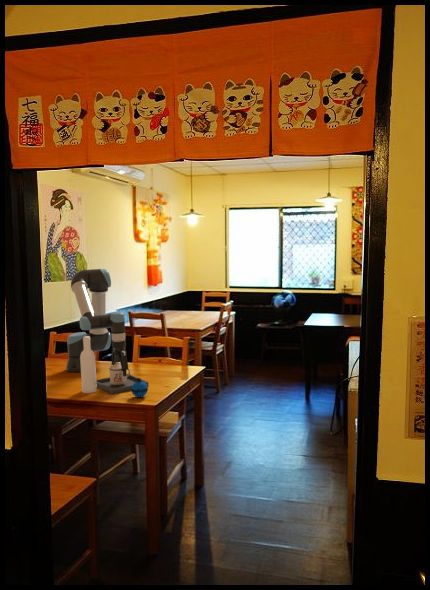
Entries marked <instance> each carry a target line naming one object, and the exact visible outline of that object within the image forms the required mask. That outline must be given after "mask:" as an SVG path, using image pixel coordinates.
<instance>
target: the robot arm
mask: <svg viewBox="0 0 430 590" xmlns="http://www.w3.org/2000/svg"><path fill="white" fill-rule="evenodd" d="M111 287H112V279H111V276H110V271H109V270H108V269H105V268H93V269H81V270H79V271H77V272H76V273H75V274H73V276H72V278H71V281H70V288H71V291H72V293H74V295H75V299H76V303H77V305H78V308H79V312H80V314H81V317H80V318H79V328H80V329H81V330H82V332H80V331H79V332H74V333H71V334H69V335H68V336H67V339H66V340H67V342H66V344H67V355H68V356H67V362H66V365H65V372H68V373H81V363H80V355H81V352H82V351H83V350H84V344H83V337H85V336H89V337H90V339H91V340H90V345H91V350H92V351H93V352H94V353H95V352H102V351H107V350H108V349H110V347H112V348H111V366H113V365H114V364H116V362H119V364H121V367H122V370H121V375H122V382H126V381H127V374H128V373H127V371H128V369H129V364H128V358H127V357H128V354H127V351H125V350H124V348H126V347H127V343H126V342H127V341H126V326H125V325H126V324H125V323H126V321H125V320H126V318H125V313H124V312H122V311H121V312H120V311H117V312H111V313H107V314H106V293H107V292H108V291H109V288H111ZM88 290H89V291H88ZM89 292H90V293H91V296H90V294H89ZM109 328H110V330H111V332H110V331H109V330H108V329H109ZM86 331H89V332H88V333H86Z"/></svg>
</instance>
